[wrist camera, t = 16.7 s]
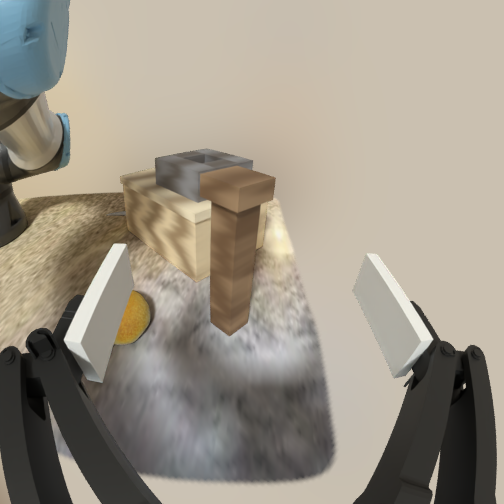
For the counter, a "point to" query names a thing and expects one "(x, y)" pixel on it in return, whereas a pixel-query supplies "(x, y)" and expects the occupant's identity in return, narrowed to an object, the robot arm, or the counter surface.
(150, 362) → the counter surface
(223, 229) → the brown t-shaped block
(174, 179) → the tan two-tone block
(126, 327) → the bread roll
